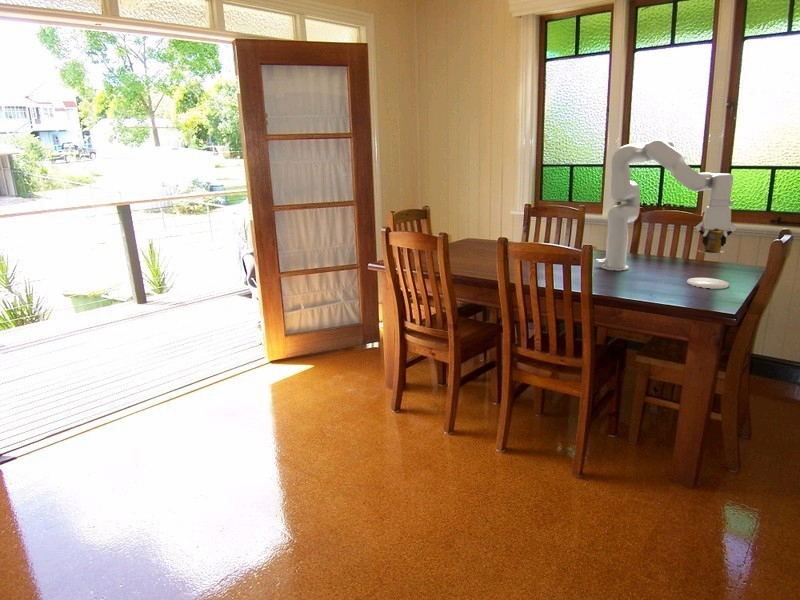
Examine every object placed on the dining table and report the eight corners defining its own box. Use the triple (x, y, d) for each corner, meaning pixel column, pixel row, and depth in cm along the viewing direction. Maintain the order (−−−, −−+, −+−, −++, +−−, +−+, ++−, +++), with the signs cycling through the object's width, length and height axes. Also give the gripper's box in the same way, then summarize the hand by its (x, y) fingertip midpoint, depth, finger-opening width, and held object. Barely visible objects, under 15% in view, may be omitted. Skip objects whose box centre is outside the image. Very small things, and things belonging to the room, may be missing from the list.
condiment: (724, 252, 234) (728, 224, 230) (711, 254, 230) (715, 226, 227) (709, 249, 240) (712, 222, 237) (696, 251, 236) (700, 224, 233)
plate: (689, 287, 235) (690, 285, 234) (685, 278, 249) (685, 276, 249) (731, 290, 229) (732, 287, 229) (724, 281, 243) (724, 278, 243)
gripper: (740, 202, 229) (734, 244, 234) (695, 202, 235) (689, 243, 240) (744, 204, 223) (738, 247, 228) (697, 204, 228) (692, 246, 234)
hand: (713, 245), depth 234 cm, fingers closed on condiment, 6 cm apart
